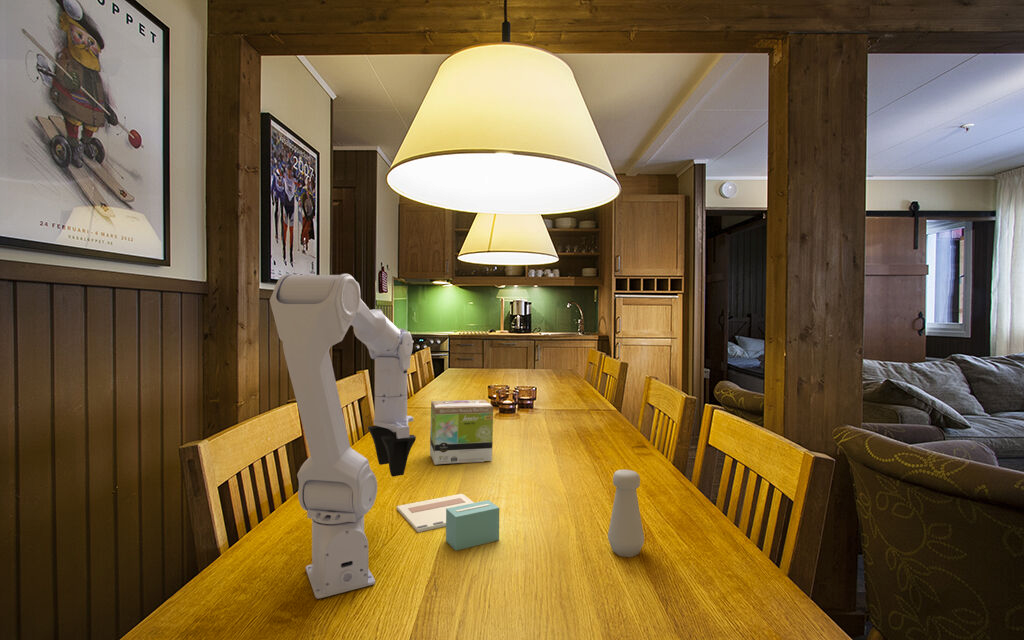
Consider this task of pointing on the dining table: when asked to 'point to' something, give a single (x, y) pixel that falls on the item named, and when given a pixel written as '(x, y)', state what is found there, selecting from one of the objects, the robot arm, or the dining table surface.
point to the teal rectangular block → (472, 524)
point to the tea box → (461, 431)
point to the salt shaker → (626, 515)
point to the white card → (431, 511)
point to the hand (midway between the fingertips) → (390, 469)
